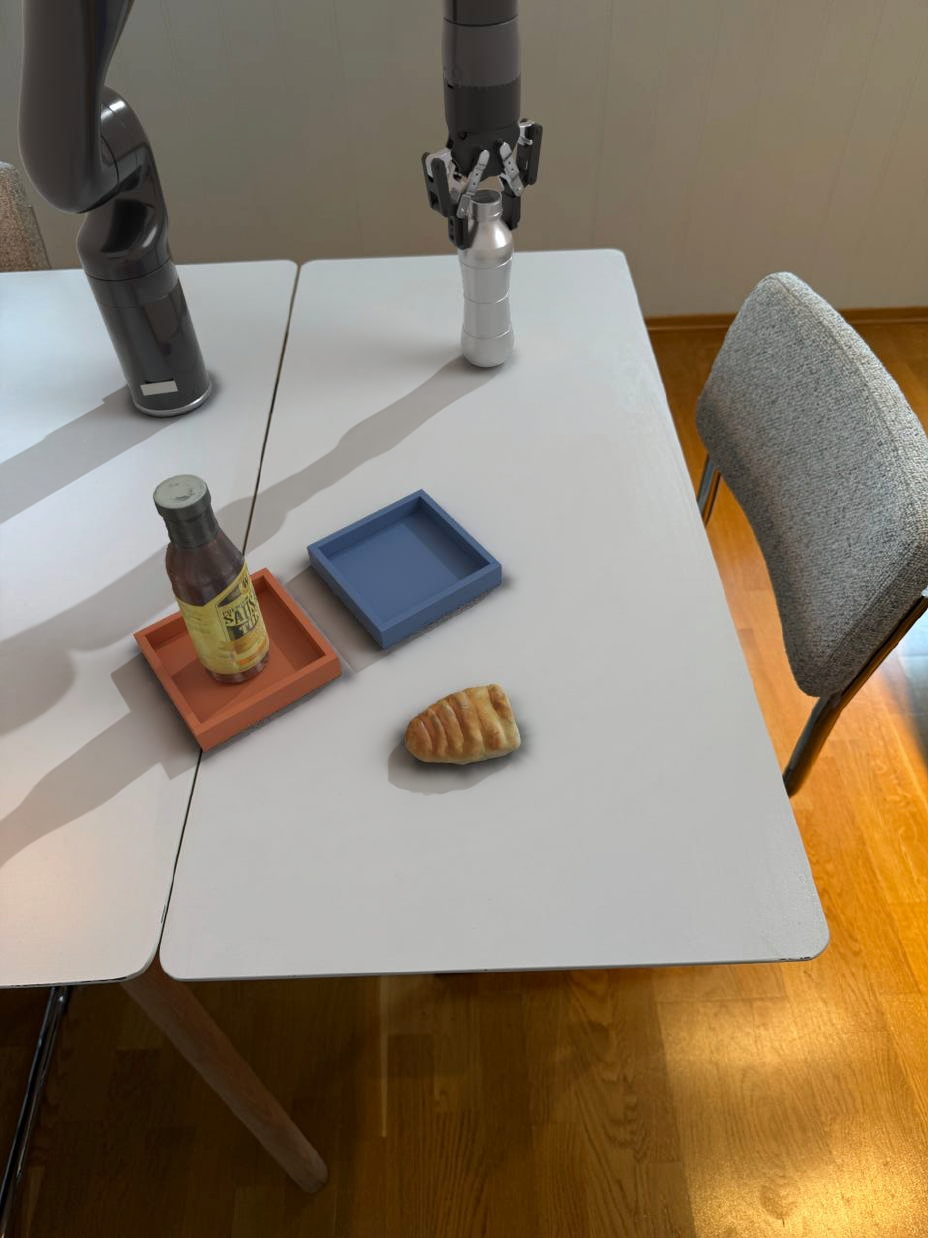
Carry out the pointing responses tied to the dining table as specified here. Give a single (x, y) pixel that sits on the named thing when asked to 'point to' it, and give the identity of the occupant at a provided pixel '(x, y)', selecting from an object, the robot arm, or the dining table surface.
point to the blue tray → (404, 567)
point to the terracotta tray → (234, 707)
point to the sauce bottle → (211, 583)
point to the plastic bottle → (486, 282)
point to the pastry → (464, 727)
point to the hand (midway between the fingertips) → (485, 236)
